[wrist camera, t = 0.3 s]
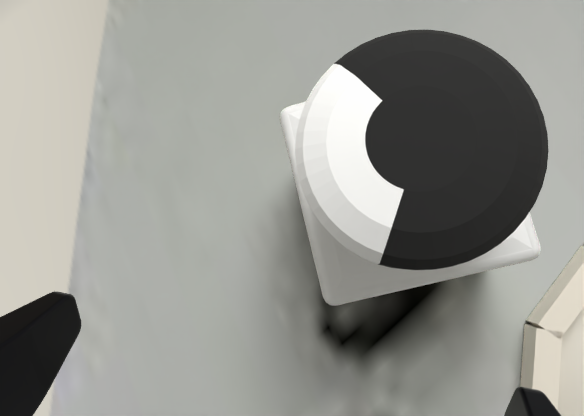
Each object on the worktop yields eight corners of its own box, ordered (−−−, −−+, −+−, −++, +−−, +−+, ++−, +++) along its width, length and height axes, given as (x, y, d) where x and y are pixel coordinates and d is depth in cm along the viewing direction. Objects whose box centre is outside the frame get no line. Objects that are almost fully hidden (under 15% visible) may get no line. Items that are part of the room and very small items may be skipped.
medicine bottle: (445, 114, 23) (530, -47, 11) (489, 260, 22) (635, 252, 10) (302, 154, 24) (239, 42, 12) (337, 296, 23) (306, 327, 11)
